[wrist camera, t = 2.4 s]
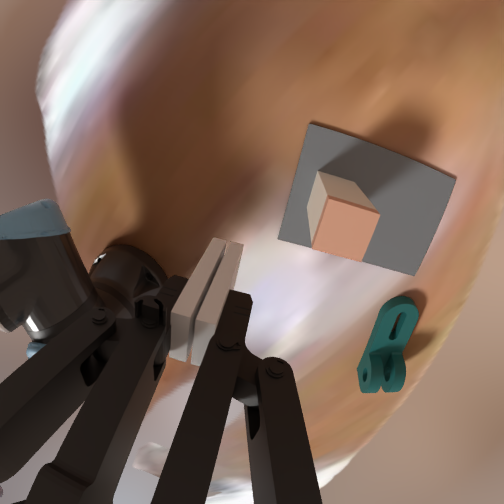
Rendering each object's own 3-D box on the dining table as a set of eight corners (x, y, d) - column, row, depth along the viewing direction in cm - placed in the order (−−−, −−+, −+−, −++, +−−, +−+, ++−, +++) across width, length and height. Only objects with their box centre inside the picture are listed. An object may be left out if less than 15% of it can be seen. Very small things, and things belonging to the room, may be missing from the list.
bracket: (387, 367, 50) (394, 398, 43) (356, 368, 51) (361, 400, 44) (419, 296, 41) (435, 327, 35) (384, 294, 42) (397, 327, 35)
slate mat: (277, 237, 40) (277, 239, 39) (308, 123, 32) (309, 123, 32) (413, 274, 40) (414, 276, 39) (454, 179, 32) (455, 180, 31)
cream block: (306, 207, 37) (312, 249, 26) (317, 170, 34) (328, 198, 24) (342, 217, 37) (361, 262, 26) (354, 182, 34) (380, 214, 24)
